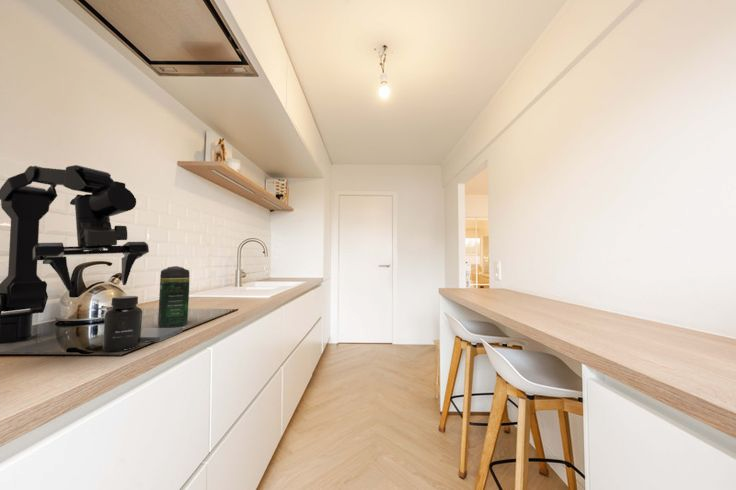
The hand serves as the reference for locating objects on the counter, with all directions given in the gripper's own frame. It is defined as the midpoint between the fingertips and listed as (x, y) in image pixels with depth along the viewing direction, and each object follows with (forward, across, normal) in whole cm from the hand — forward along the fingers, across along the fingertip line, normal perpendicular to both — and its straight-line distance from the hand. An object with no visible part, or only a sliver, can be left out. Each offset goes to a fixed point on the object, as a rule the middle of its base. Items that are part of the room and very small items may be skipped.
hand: (98, 287), depth 66 cm
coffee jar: (+13, +20, +20) cm, 31 cm away
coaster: (+14, +11, +8) cm, 20 cm away
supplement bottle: (+15, +4, +2) cm, 15 cm away
